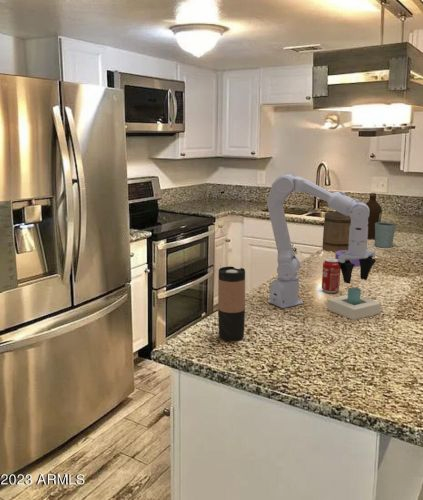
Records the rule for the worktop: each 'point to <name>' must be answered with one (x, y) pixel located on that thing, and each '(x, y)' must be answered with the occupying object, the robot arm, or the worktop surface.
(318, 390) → the worktop surface
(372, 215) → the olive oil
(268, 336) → the worktop surface
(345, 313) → the well block
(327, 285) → the beverage can
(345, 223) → the wooden container
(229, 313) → the travel mug
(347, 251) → the tape roll
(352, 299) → the teal dowel
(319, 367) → the worktop surface
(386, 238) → the drinking glass
